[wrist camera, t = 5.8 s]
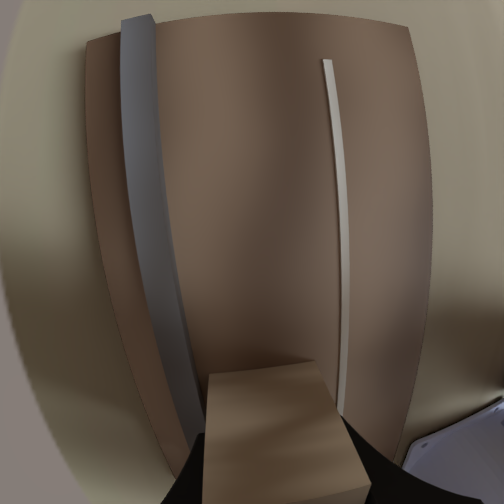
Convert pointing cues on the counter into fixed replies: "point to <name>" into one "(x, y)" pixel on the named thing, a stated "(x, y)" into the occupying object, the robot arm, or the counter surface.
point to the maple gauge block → (278, 440)
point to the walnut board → (263, 209)
